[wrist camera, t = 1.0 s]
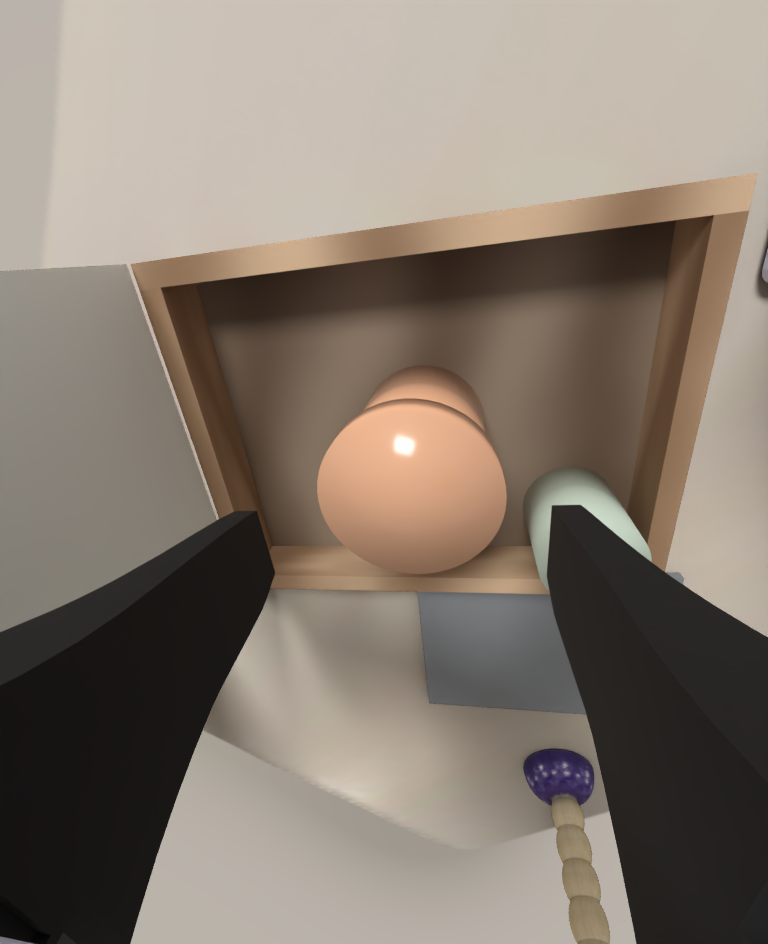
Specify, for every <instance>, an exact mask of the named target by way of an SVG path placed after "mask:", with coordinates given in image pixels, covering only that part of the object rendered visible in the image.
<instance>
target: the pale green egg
mask: <svg viewBox="0 0 768 944" xmlns="http://www.w3.org/2000/svg"><path fill="white" fill-rule="evenodd" d="M552 505H582V506H583V507H584V508H586V509H587V510H588V511H589V512H590V513H592V514H593V515H594V516H595V517H596V518H598V519H599V520H600V521H601V522H602V523H603V524H605V525H606V526H607V527H608V528H609V529H611V530H612V531H613V532H614V533H615V534H617V535H618V536H619V537H620V538H621V539H623V540H624V541H625V542H626V543H628V544H629V545H630V546H631V547H633V548H634V549H635V550H636V551H638V552H639V553H640V554H642V555H643V556H644V557H645V558H647V559H648V560H649V561H651V562H652V558H651V552H650V549H649V547H648V545H647V543H646V542H645V540H644V539H643V537H642V536H641V534H640V532H639V531H638V529H637V528H636V526H635V525H634V523H633V522H632V520H631V518H630V517H629V515H628V514H627V512H626V511H625V509H624V508H623V506H622V504H621V503H620V501H619V500H618V498H617V497H616V495H615V494H614V492H613V490H612V489H611V487H610V486H609V484H608V483H607V482H606V480H605V479H604V478H603V477H601V476H600V475H599V474H597V473H595V472H594V471H591V470H589V469H585V468H580V467H564V468H558V469H555V470H552V471H550V472H547V473H545V474H544V475H542V476H540V477H539V478H538V479H536V480H535V481H534V482H533V483H532V484H531V486H530V487H529V488H528V490H527V492H526V494H525V496H524V500H523V513H524V517H525V521H526V525H527V529H528V533H529V537H530V541H531V545H532V549H533V553H534V557H535V561H536V565H537V569H538V573H539V576H540V579H541V581H542V583H543V585H544V586H545V587H546V588H547V590H548V591H549V586H548V580H547V565H548V551H549V537H550V523H551V510H552ZM549 592H550V591H549Z"/></svg>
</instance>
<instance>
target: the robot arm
mask: <svg viewBox="0 0 768 944" xmlns="http://www.w3.org/2000/svg"><path fill="white" fill-rule="evenodd" d="M762 277H763V279H764V281H765V282H767V283H768V250H767V254H766V257H765V261H764V265H763V269H762ZM274 575H275V570H274V567H273V563H272V560H271V556H270V553H269V550H268V546H267V543H266V540H265V536H264V533H263V530H262V526H261V523H260V519H259V516H258V513H257V511H235V512H232V513H230V514H228V515H226V516H224V517H222V518H220V519H219V520H217V521H215V522H213V523H212V524H210V525H208V526H206V527H205V528H203V529H201V530H200V531H198V532H196V533H195V534H193V535H191V536H190V537H188V538H186V539H185V540H183V541H181V542H180V543H178V544H176V545H175V546H173V547H171V548H170V549H168V550H166V551H165V552H163V553H161V554H160V555H158V556H156V557H155V558H153V559H151V560H149V561H147V562H146V563H144V564H142V565H140V566H139V567H137V568H135V569H133V570H132V571H130V572H128V573H126V574H124V575H123V576H121V577H119V578H117V579H115V580H114V581H112V582H110V583H108V584H106V585H104V586H102V587H100V588H98V589H96V590H94V591H92V592H90V593H88V594H86V595H84V596H82V597H80V598H78V599H76V600H74V601H71V602H69V603H67V604H65V605H63V606H61V607H59V608H56V609H54V610H52V611H49V612H47V613H45V614H42V615H40V616H38V617H35V618H33V619H30V620H28V621H26V622H23V623H21V624H18V625H16V626H14V627H11V628H9V629H7V630H4V631H2V632H0V944H130V942H131V939H132V936H133V932H134V928H135V925H136V922H137V918H138V915H139V912H140V909H141V905H142V902H143V899H144V896H145V892H146V889H147V886H148V882H149V879H150V876H151V873H152V869H153V866H154V863H155V859H156V856H157V853H158V851H159V848H160V844H161V842H162V839H163V836H164V833H165V830H166V827H167V824H168V821H169V818H170V815H171V812H172V810H173V807H174V803H175V801H176V798H177V795H178V792H179V790H180V787H181V784H182V782H183V779H184V776H185V774H186V771H187V769H188V766H189V763H190V761H191V758H192V755H193V753H194V750H195V747H196V745H197V742H198V740H199V738H200V735H201V733H202V730H203V728H204V725H205V723H206V721H207V718H208V716H209V713H210V711H211V708H212V706H213V704H214V702H215V700H216V698H217V696H218V694H219V691H220V689H221V687H222V685H223V684H224V682H225V680H226V678H227V676H228V674H229V672H230V670H231V668H232V667H233V665H234V663H235V661H236V659H237V657H238V655H239V653H240V651H241V649H242V648H243V646H244V644H245V642H246V640H247V638H248V636H249V634H250V632H251V630H252V628H253V627H254V625H255V623H256V621H257V619H258V617H259V615H260V613H261V611H262V609H263V606H264V604H265V601H266V599H267V596H268V593H269V590H270V587H271V584H272V581H273V578H274ZM547 580H548V586H549V591H550V597H551V602H552V607H553V612H554V616H555V619H556V623H557V626H558V629H559V632H560V635H561V638H562V641H563V644H564V647H565V650H566V653H567V656H568V660H569V663H570V666H571V669H572V672H573V675H574V678H575V681H576V684H577V687H578V690H579V693H580V696H581V699H582V702H583V705H584V708H585V711H586V714H587V718H588V721H589V725H590V728H591V732H592V735H593V739H594V744H595V748H596V752H597V757H598V761H599V766H600V770H601V774H602V779H603V783H604V788H605V792H606V797H607V801H608V806H609V811H610V815H611V820H612V825H613V829H614V834H615V838H616V843H617V847H618V853H619V858H620V862H621V868H622V873H623V877H624V883H625V888H626V892H627V897H628V903H629V907H630V912H631V917H632V922H633V927H634V932H635V938H636V943H637V944H768V637H766V636H764V635H763V634H761V633H759V632H757V631H756V630H754V629H752V628H750V627H749V626H747V625H746V624H744V623H742V622H741V621H739V620H737V619H736V618H734V617H732V616H731V615H729V614H727V613H726V612H724V611H722V610H721V609H719V608H717V607H716V606H714V605H713V604H711V603H710V602H708V601H706V600H705V599H703V598H702V597H700V596H699V595H697V594H696V593H694V592H693V591H691V590H690V589H688V588H687V587H686V586H684V585H683V584H681V583H680V582H678V581H677V580H676V579H674V578H673V577H671V576H670V575H668V574H667V573H666V572H664V571H663V570H661V569H660V568H659V567H657V566H656V565H655V564H653V563H652V562H651V561H649V560H648V559H647V558H645V557H644V556H643V555H642V554H640V553H639V552H638V551H636V550H635V549H634V548H633V547H631V546H630V545H629V544H628V543H626V542H625V541H624V540H623V539H621V538H620V537H619V536H618V535H617V534H615V533H614V532H613V531H612V530H611V529H609V528H608V527H607V526H606V525H605V524H603V523H602V522H601V521H600V520H599V519H598V518H596V517H595V516H594V515H593V514H592V513H590V512H589V511H588V510H587V509H586V508H584V507H583V506H582V505H552V510H551V523H550V537H549V551H548V565H547Z"/></svg>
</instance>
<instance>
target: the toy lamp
mask: <svg viewBox="0 0 768 944" xmlns="http://www.w3.org/2000/svg"><path fill="white" fill-rule="evenodd" d="M523 768H524V773H525V776H526V780H527V782H528V784H529V786H530V788H531V790H532V791H533V792H534V794H535V795H536V796H538V798H540V799H541V800H542V801H543V802H545V803H547V804H549V805H551V813H552V819H553V822H554V824H555V827H556V829H557V830H558V832H557V848H558V852H559V855H560V858H561V860H562V862H563V863H564V865H563V870H562V878H563V884H564V888H565V891H566V894H567V896H568V898H569V900H570V904H569V921H570V926H571V930H572V933H573V935H574V938H575V940H576V942H577V943H578V944H609V943H610V931H609V925H608V921H607V917H606V915H605V912H604V910H603V908H602V906H601V905H600V898H601V895H600V893H601V892H600V885H599V880H598V877H597V874H596V872H595V870H594V869H593V867H592V866H591V861H592V851H591V846H590V843H589V840H588V838H587V836H586V834H585V833H584V816H583V812H582V810H581V807H580V805H582V804H583V803H584V802H586V801H587V800H588V798H589V797H590V795H591V793H592V791H593V788H594V772H593V768H592V765H591V764H590V763H589V761H588V760H586V759H585V758H583V757H582V756H580V755H579V754H576V753H573V752H571V751H566V750H558V749H555V750H554V749H551V750H543V751H539V752H537V753H534V754H532V755H531V756H529V757H528V758H527V760H526V761H525V763H524V767H523Z"/></svg>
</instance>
